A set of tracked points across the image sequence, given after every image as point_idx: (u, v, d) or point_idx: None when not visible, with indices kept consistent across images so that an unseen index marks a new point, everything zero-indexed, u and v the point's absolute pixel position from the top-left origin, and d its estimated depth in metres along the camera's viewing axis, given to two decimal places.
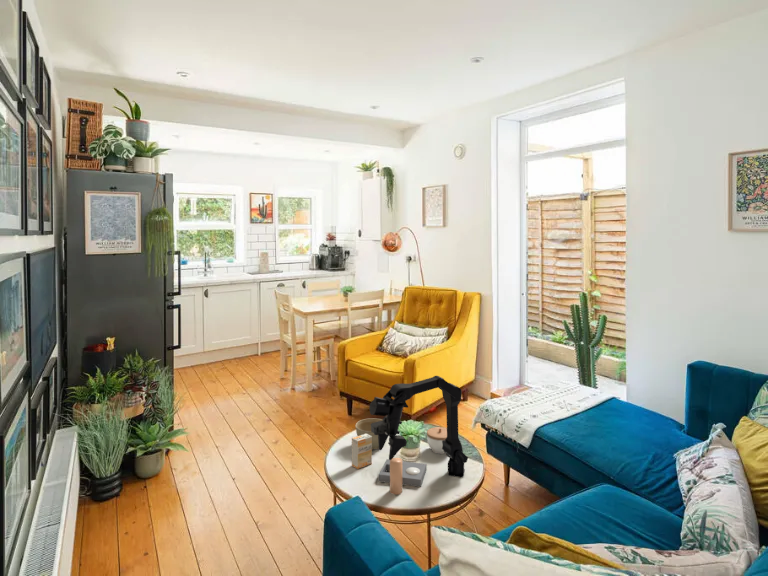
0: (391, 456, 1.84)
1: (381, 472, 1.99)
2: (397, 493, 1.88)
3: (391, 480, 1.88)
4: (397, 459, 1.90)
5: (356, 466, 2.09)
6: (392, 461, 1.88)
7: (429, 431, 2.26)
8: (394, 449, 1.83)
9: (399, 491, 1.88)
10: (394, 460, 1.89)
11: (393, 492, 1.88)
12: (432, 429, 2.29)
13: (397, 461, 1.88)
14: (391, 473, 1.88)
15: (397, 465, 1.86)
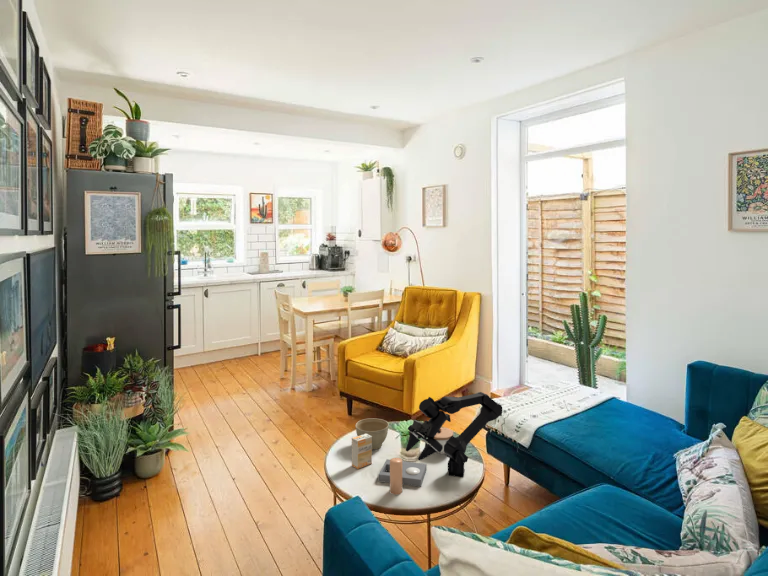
0: (421, 457, 1.88)
1: (381, 472, 1.99)
2: (397, 493, 1.88)
3: (391, 480, 1.88)
4: (397, 459, 1.90)
5: (356, 466, 2.09)
6: (392, 461, 1.88)
7: None
8: (427, 451, 1.89)
9: (399, 491, 1.88)
10: (394, 460, 1.89)
11: (393, 492, 1.88)
12: None
13: (397, 461, 1.88)
14: (391, 473, 1.88)
15: (397, 465, 1.86)
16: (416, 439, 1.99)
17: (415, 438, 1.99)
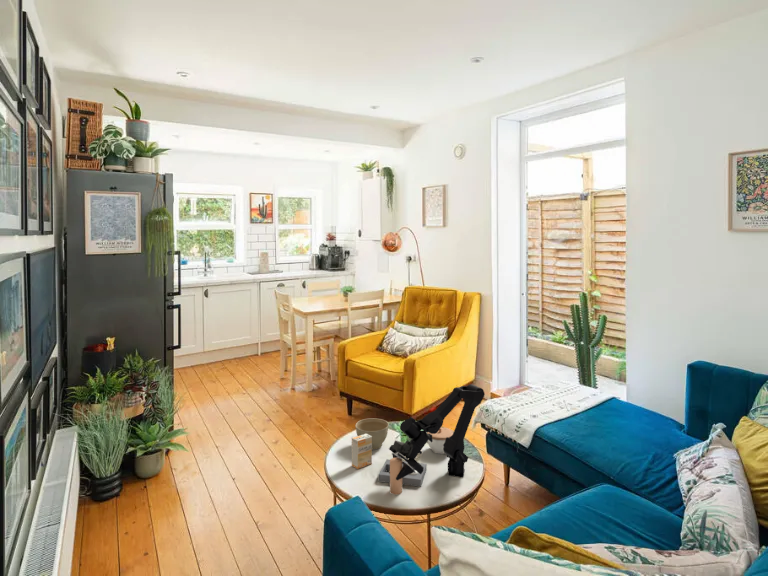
0: (399, 476, 1.86)
1: (381, 472, 1.99)
2: (397, 493, 1.88)
3: (391, 480, 1.88)
4: (397, 459, 1.90)
5: (356, 466, 2.09)
6: (392, 461, 1.88)
7: None
8: (405, 471, 1.87)
9: (399, 491, 1.88)
10: (394, 460, 1.89)
11: (393, 492, 1.88)
12: None
13: (397, 461, 1.88)
14: (391, 473, 1.88)
15: (397, 465, 1.86)
16: None
17: None
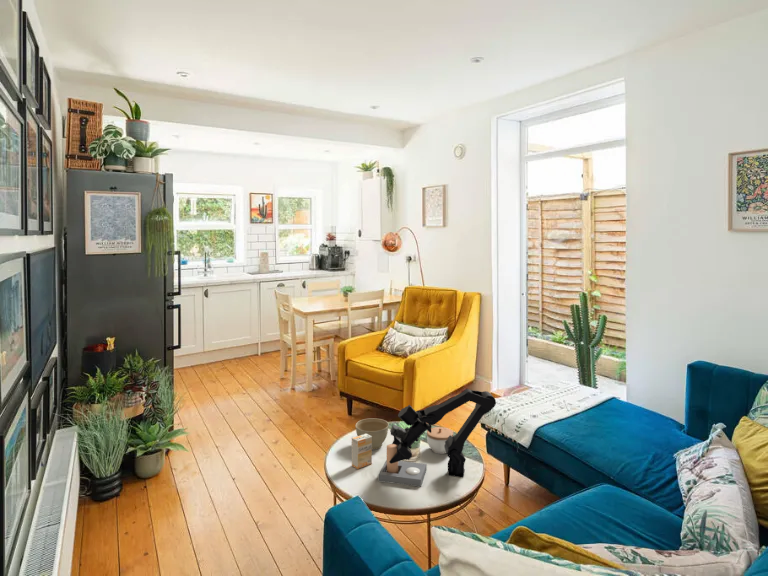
0: (392, 460, 1.97)
1: (381, 472, 1.99)
2: None
3: None
4: (394, 446, 2.02)
5: (356, 466, 2.09)
6: (388, 446, 2.01)
7: None
8: (398, 456, 1.96)
9: None
10: (391, 446, 2.02)
11: None
12: (432, 429, 2.29)
13: (392, 447, 2.01)
14: None
15: (391, 451, 1.99)
16: (399, 444, 2.07)
17: (398, 442, 2.07)
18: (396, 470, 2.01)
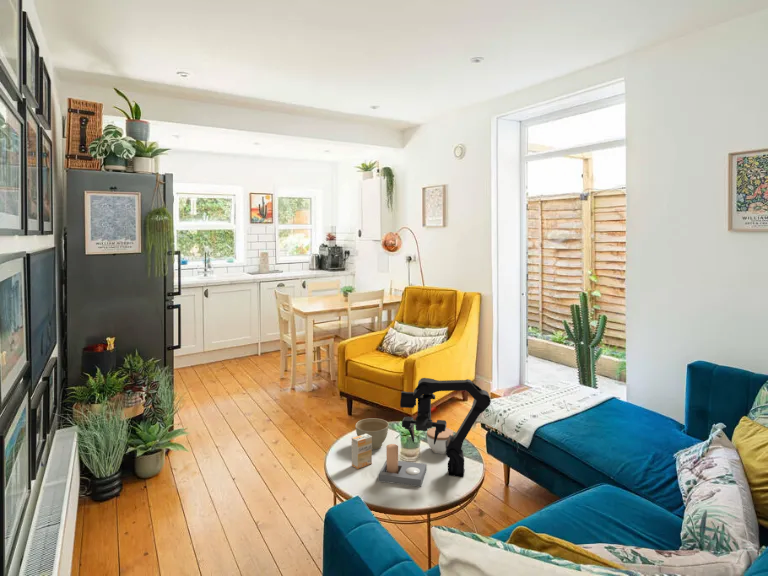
0: None
1: (381, 472, 1.99)
2: None
3: None
4: (394, 446, 2.02)
5: (356, 466, 2.09)
6: (388, 446, 2.01)
7: (429, 431, 2.26)
8: None
9: None
10: (390, 446, 2.02)
11: None
12: (432, 429, 2.29)
13: (392, 447, 2.01)
14: None
15: (391, 451, 1.99)
16: (413, 426, 2.07)
17: (412, 427, 2.06)
18: (396, 470, 2.01)
